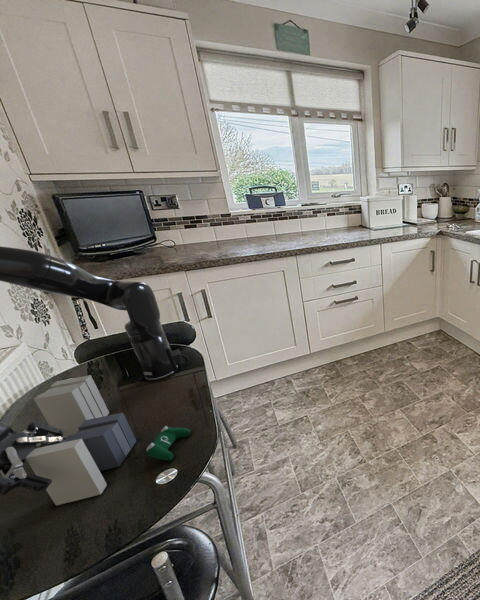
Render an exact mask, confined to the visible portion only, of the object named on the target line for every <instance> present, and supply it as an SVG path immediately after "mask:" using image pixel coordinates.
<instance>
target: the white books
mask: <svg viewBox="0 0 480 600" xmlns="http://www.w3.org/2000/svg"><path fill="white" fill-rule="evenodd" d="M33 400H34V402H35V404H36V406H37V407H38V409H39V410H40V412H41V414H42V416H43V418H44V419H45V421H46V422H47V425H49V426H52V427H56V428H59V429H63V430H64V431H65V432H64V434H63V437H62V439H63V440H64V439H66V438H67V437H68V436H69V435H74V434H76V433H77V432H78V431H79V429H78V427H79V426H80V425H81V424H82V423H83V422H84V421H85V420H89V419H94V418H99V417H104V416H109V415H110V411H109V408H108V407H107V405H106V402H105V401H104V399H103V396H102V395H101V392H100V391H99V389H98V386H97V385H96V382H95V381H94V379H93V377H92V374H89V375H84V376H77V377H72V378H67V379H62V380H56V381H55V382H54V383H52V384H51V385H50V388H48V389H47V390H46V391H44V392H43V393H40V394H38V395H37V396H35V398H34V399H33Z"/></svg>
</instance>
